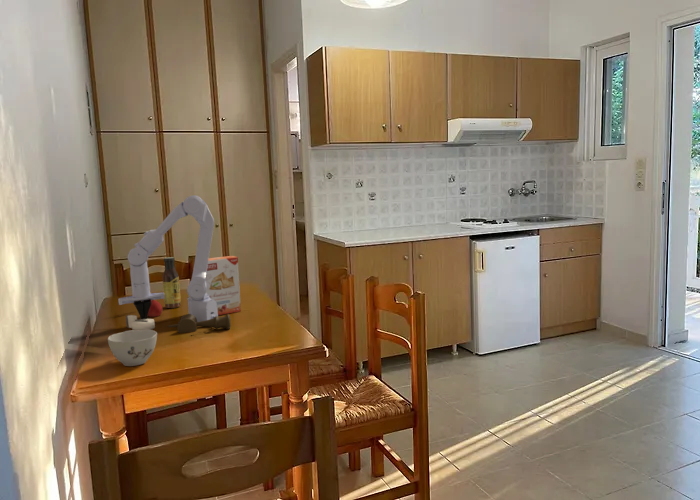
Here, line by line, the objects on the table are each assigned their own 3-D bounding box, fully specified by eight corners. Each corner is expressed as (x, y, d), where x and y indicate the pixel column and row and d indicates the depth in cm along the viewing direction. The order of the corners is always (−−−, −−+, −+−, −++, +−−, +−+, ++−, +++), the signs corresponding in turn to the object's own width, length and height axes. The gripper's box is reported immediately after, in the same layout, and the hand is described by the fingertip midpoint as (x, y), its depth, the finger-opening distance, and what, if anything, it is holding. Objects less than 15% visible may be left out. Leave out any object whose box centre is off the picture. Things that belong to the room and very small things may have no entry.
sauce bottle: (178, 308, 216) (173, 258, 213) (162, 309, 216) (157, 259, 213) (183, 304, 222) (179, 256, 220) (168, 305, 222) (163, 256, 220)
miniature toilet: (159, 326, 183) (158, 314, 183) (143, 332, 177) (142, 319, 177) (136, 324, 188) (135, 312, 187) (120, 329, 182) (118, 317, 181)
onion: (142, 320, 198) (140, 299, 197) (155, 316, 204) (153, 295, 202) (154, 322, 196) (152, 300, 195) (166, 318, 201) (164, 296, 200)
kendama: (231, 334, 178) (166, 339, 173) (230, 327, 187) (169, 332, 182) (230, 315, 177) (165, 320, 172) (229, 310, 186) (168, 314, 182)
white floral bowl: (162, 365, 148) (159, 336, 147) (112, 374, 142) (108, 344, 141) (154, 350, 161) (152, 324, 160) (108, 358, 155) (105, 331, 154)
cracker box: (206, 318, 198) (201, 260, 195) (200, 315, 202) (195, 259, 200) (242, 311, 206) (238, 256, 203) (235, 308, 211) (231, 254, 208)
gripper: (160, 278, 192) (163, 316, 194) (115, 284, 185) (119, 323, 187) (164, 281, 186) (168, 320, 188) (118, 287, 179) (122, 327, 181)
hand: (144, 322), depth 187 cm, fingers closed
